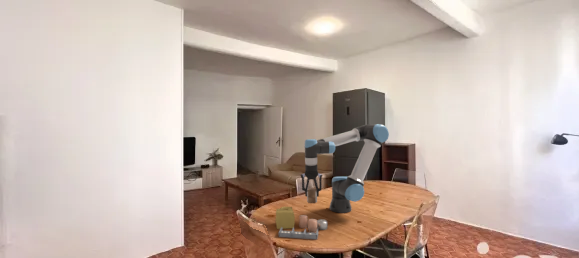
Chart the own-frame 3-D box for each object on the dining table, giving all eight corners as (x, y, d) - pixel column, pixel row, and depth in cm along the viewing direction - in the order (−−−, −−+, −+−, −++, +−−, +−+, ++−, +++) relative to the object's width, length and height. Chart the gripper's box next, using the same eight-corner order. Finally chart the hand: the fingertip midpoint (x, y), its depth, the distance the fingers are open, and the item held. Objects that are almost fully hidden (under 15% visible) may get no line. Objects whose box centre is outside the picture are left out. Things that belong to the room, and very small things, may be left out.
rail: (318, 233, 146) (318, 228, 146) (317, 239, 138) (317, 234, 138) (281, 231, 149) (281, 226, 149) (278, 236, 142) (278, 232, 142)
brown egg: (308, 225, 158) (308, 215, 158) (307, 228, 153) (307, 218, 153) (299, 224, 159) (299, 214, 159) (298, 227, 154) (298, 217, 154)
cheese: (275, 222, 162) (275, 206, 162) (293, 222, 163) (292, 206, 163) (276, 229, 152) (276, 212, 152) (294, 228, 153) (294, 211, 152)
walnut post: (316, 201, 166) (315, 188, 166) (315, 203, 161) (315, 190, 161) (308, 201, 167) (308, 188, 166) (308, 203, 162) (307, 190, 162)
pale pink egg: (317, 229, 152) (317, 219, 151) (316, 233, 147) (316, 222, 146) (308, 228, 152) (308, 218, 152) (307, 232, 147) (307, 221, 147)
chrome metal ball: (327, 226, 156) (327, 219, 156) (327, 230, 150) (327, 223, 150) (317, 225, 157) (317, 219, 157) (316, 229, 151) (316, 222, 151)
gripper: (325, 163, 165) (326, 200, 166) (298, 163, 169) (299, 199, 169) (325, 165, 158) (326, 203, 159) (296, 165, 161) (297, 203, 162)
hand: (312, 201), depth 164 cm, fingers closed on walnut post, 4 cm apart
